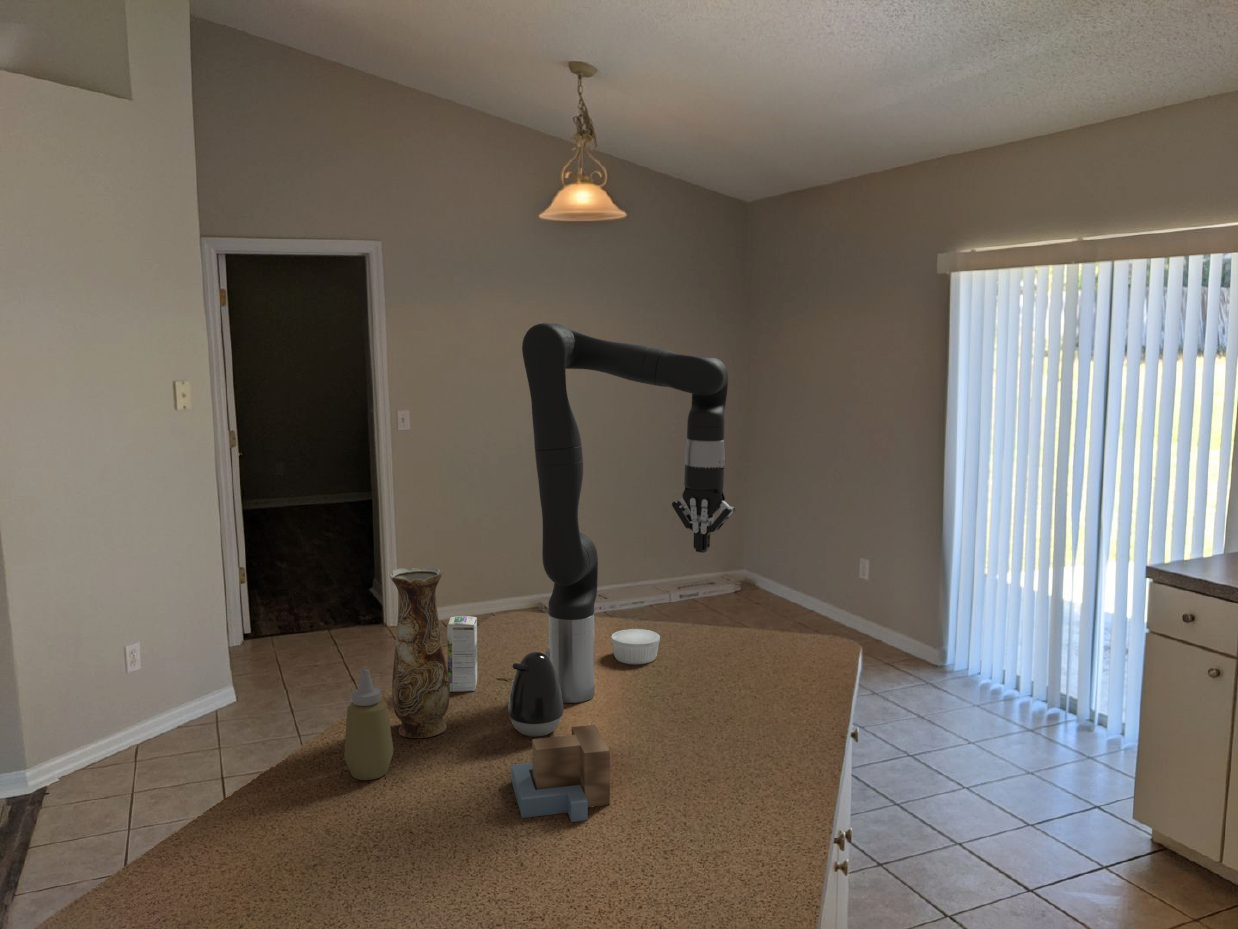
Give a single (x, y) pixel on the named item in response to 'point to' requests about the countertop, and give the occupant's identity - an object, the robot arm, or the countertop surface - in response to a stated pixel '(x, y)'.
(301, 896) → the countertop surface
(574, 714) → the countertop surface
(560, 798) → the t socket
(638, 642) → the ramekin
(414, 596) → the vase
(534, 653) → the roly-poly penguin toy
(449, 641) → the syrup box
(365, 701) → the squeeze bottle
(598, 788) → the t block
